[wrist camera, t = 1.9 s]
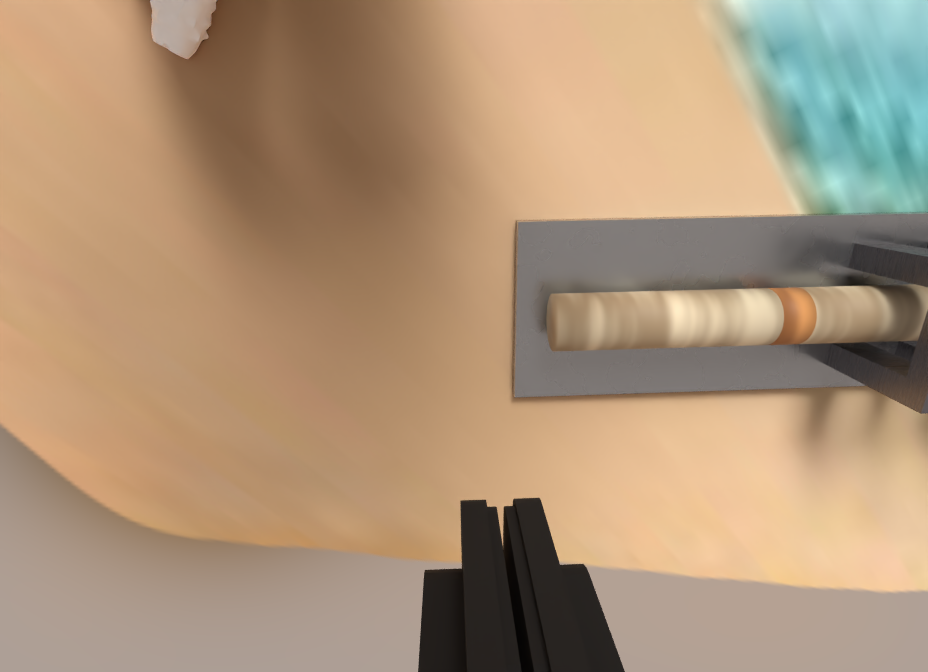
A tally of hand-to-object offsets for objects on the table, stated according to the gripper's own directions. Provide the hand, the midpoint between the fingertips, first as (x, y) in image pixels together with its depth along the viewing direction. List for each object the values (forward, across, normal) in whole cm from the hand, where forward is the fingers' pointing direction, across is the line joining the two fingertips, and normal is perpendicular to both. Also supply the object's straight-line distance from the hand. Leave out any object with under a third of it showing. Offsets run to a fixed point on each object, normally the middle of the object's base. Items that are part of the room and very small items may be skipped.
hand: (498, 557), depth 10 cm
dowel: (+22, -17, +1) cm, 28 cm away
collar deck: (+23, -23, +1) cm, 33 cm away
